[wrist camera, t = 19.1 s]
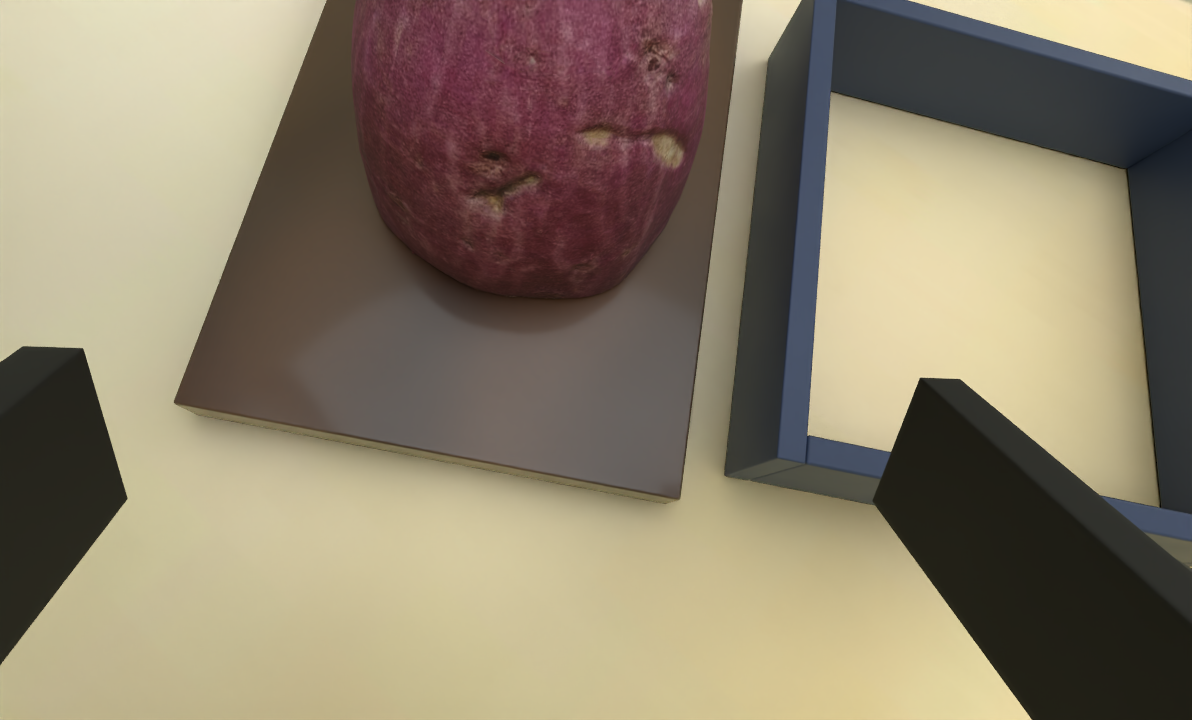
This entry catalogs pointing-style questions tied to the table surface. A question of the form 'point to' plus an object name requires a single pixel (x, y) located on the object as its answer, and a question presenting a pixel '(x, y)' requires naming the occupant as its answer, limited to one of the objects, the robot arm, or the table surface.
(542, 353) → the cutting board
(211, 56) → the table surface
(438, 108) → the vegetable
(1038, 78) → the square frame
